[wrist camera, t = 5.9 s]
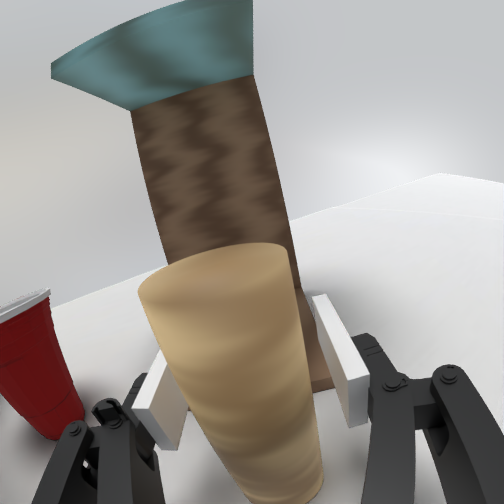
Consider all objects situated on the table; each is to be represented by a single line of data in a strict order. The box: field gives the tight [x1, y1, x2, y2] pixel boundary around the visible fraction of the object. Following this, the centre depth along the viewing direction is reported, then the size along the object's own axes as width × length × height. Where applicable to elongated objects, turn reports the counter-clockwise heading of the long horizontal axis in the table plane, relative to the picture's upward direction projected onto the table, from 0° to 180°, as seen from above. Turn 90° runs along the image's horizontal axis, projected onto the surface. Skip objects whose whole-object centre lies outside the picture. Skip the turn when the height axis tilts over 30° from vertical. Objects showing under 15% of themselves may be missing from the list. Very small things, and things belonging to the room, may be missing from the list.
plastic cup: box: [0, 288, 85, 440], centre depth 16 cm, size 11×11×12 cm
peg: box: [138, 243, 323, 504], centre depth 10 cm, size 5×5×13 cm
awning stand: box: [51, 0, 335, 410], centre depth 24 cm, size 15×18×28 cm
